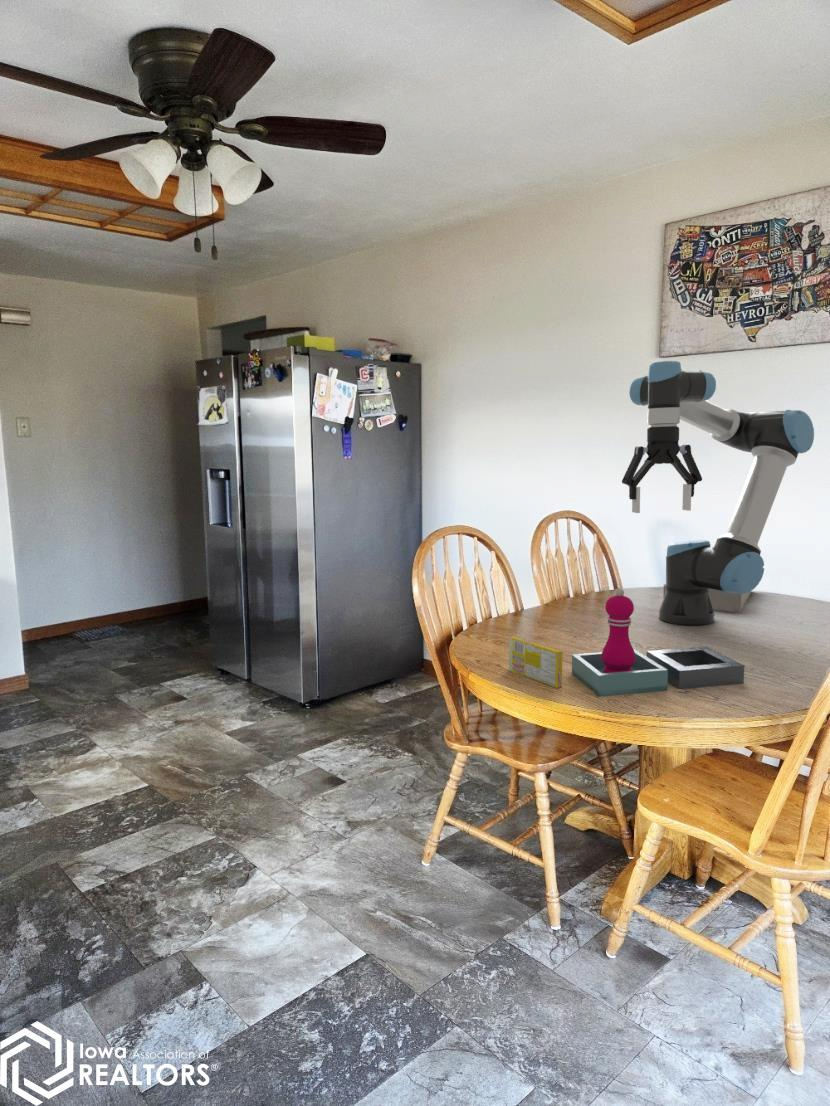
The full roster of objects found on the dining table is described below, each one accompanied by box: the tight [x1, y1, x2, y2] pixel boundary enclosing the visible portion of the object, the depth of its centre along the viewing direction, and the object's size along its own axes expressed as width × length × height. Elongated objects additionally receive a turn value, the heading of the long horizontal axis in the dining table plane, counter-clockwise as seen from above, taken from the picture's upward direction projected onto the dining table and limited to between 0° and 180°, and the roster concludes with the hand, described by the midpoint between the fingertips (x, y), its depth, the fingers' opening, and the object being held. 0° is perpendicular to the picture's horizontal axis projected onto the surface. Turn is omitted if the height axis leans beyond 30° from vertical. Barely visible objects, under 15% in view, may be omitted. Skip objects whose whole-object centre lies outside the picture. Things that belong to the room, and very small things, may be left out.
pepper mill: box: [601, 588, 635, 673], centre depth 157 cm, size 7×7×20 cm
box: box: [662, 583, 752, 613], centre depth 234 cm, size 23×8×32 cm
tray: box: [571, 649, 668, 697], centre depth 158 cm, size 15×15×4 cm
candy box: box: [508, 635, 564, 689], centre depth 162 cm, size 16×2×8 cm, turn 33°
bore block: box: [646, 645, 745, 690], centre depth 161 cm, size 15×15×4 cm
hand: (661, 511), depth 180 cm, fingers open, 13 cm apart
